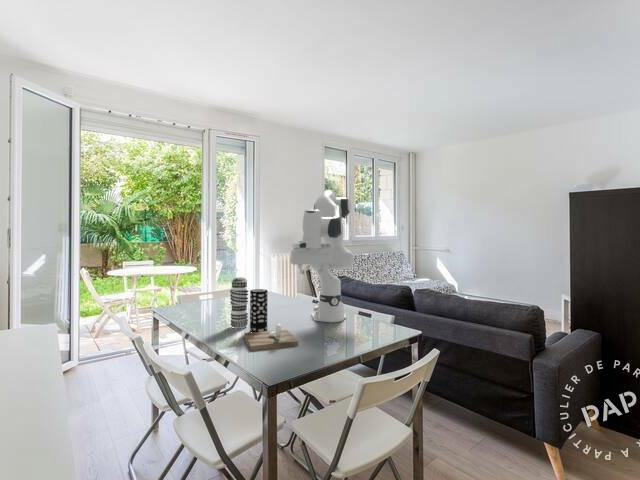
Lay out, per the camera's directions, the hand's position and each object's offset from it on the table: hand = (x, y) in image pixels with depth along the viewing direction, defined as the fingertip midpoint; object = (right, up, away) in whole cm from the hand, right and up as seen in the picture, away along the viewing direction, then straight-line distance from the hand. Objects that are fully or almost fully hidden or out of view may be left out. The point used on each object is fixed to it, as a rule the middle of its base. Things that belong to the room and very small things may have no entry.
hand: (311, 273), depth 164 cm
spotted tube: (-26, -29, +7) cm, 40 cm away
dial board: (-18, -29, -9) cm, 35 cm away
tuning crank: (-15, -27, -10) cm, 32 cm away
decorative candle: (-37, -29, +15) cm, 49 cm away
